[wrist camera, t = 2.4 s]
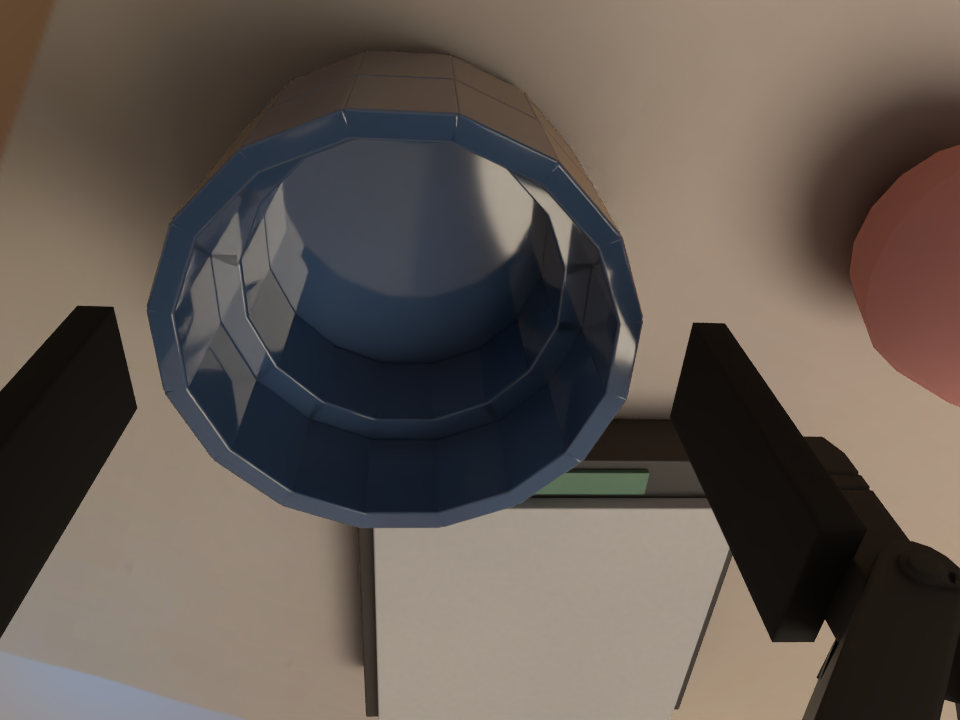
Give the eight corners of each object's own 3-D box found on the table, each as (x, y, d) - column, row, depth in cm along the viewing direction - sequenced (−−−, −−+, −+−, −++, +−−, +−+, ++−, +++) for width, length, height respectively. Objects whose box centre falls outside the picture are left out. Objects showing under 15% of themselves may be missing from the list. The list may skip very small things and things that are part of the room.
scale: (360, 416, 26) (353, 470, 24) (741, 420, 28) (773, 472, 25) (369, 669, 34) (364, 730, 32) (664, 664, 36) (682, 722, 33)
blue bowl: (199, 36, 19) (99, 97, 13) (610, 58, 20) (684, 123, 14) (246, 383, 25) (191, 529, 19) (562, 387, 26) (601, 528, 20)
